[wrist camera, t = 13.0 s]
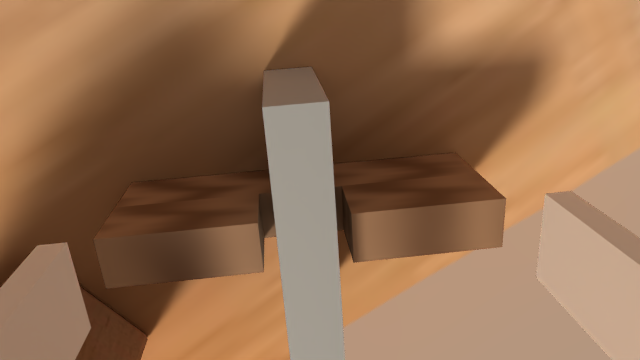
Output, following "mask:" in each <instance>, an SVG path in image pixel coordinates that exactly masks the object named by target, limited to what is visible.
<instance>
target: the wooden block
mask: <svg viewBox="0 0 640 360" xmlns="http://www.w3.org/2000/svg"><path fill="white" fill-rule="evenodd" d="M80 290H81V293H82V297H83V301H84V304H85V308H86V311H87V315H88V318H89V322H90V325H91V329H90V331H89V333H88V335H87V337H86V339H85V341H84V343H83V345H82V347H81V349H80V351H79V353H78V355H77V357H76V359H75V360H141V357H142V354H143V351H144V348H145V345H146V342H147V336H146V335H145V334H144V333H143V332H142V331H140V330H139V329H138V328H136V327H135V326H133V325H132V324H131V323H129V322H128V321H127V320H125V319H124V318H123V317H121V316H120V315H118V314H117V313H116V312H114V311H113V310H112V309H110V308H109V307H107V306H106V305H105V304H103V303H102V302H101V301H99V300H98V299H97V298H95V297H94V296H92V295H91V294H90V293H88V292H87V291H86V290H84V289H83V288H81V287H80Z"/></svg>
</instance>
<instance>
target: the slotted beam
mask: <svg viewBox="0 0 640 360" xmlns="http://www.w3.org/2000/svg"><path fill="white" fill-rule="evenodd" d="M333 172H334V188H335V204H336V220H337V230H344V232H345V235H346V239H347V242H348V245H349V249H350V252H351V255H352V259H353V262H364V261H373V260H383V259H392V258H402V257H411V256H421V255H430V254H440V253H449V252H459V251H468V250H478V249H487V248H496V247H502V242H503V230H504V217H505V205H506V198H505V197H504V196H503V195H502V194H500V193H499V192H498V191H497V190H496V189H495V188H494V187H493V186H492V185H491V184H489V183H488V182H487V181H486V180H485V179H484V178H483V177H482V176H481V175H480V174H479V173H477V172H476V171H475V170H474V169H473V168H472V167H471V166H470V165H469V164H468V163H466V162H465V161H464V160H463V159H462V158H461V157H460V156H459V155H458V154H457V153H446V154H435V155H424V156H413V157H402V158H392V159H381V160H370V161H359V162H348V163H337V164H333ZM268 237H277V236H276V227H275V218H274V209H273V200H272V191H271V182H270V173H269V170H262V171H251V172H240V173H229V174H219V175H208V176H197V177H186V178H175V179H164V180H154V181H143V182H132V183H131V184H130V186H129V187H128V189H127V190H126V192H125V193H124V195H123V196H122V198H121V199H120V201H119V202H118V204H117V205H116V206H115V208H114V209H113V211H112V212H111V214H110V215H109V217H108V218H107V220H106V221H105V223H104V224H103V226H102V227H101V228H100V230H99V231H98V233H97V234H96V236H95V237H94V239H93V242H94V245H95V249H96V253H97V257H98V261H99V265H100V268H101V272H102V276H103V280H104V284H105V288H106V289H108V288H117V287H127V286H136V285H146V284H155V283H165V282H174V281H184V280H193V279H203V278H212V277H222V276H231V275H241V274H250V273H260V272H264V238H268Z"/></svg>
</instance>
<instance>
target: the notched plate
mask: <svg viewBox="0 0 640 360" xmlns="http://www.w3.org/2000/svg"><path fill="white" fill-rule="evenodd" d="M262 111H263V120H264V129H265V138H266V147H267V156H268V165H269V173H270V182H271V191H272V200H273V209H274V218H275V227H276V236H277V245H278V254H279V262H280V271H281V280H282V289H283V298H284V307H285V316H286V325H287V334H288V343H289V352H290V360H345V350H344V333H343V317H342V301H341V285H340V269H339V252H338V236H337V220H336V204H335V188H334V172H333V156H332V139H331V123H330V107H329V100H328V98H327V96H326V94H325V92H324V90H323V88H322V86H321V84H320V82H319V80H318V78H317V76H316V74H315V72H314V71H313V69H312V67H301V68H289V69H277V70H265V71H264V79H263V99H262Z"/></svg>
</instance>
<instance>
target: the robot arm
mask: <svg viewBox="0 0 640 360" xmlns="http://www.w3.org/2000/svg"><path fill="white" fill-rule="evenodd" d="M536 278H537V279H538V280H539V281H540V282H541V283H542V284H543V286H544V287H545V288H546V289H547V290H548V291H549V292H550V293H551V294H552V295H553V296H554V298H555V299H556V300H557V301H558V302H559V303H560V304H561V305H562V306H563V307H564V308H565V310H566V311H567V312H568V313H569V314H570V315H571V316H572V317H573V318H574V319H575V320H576V322H577V323H578V324H579V325H580V326H581V327H582V328H583V329H584V330H585V331H586V332H587V334H588V335H589V336H590V337H591V338H592V339H593V340H594V341H595V342H596V343H597V344H598V345H599V347H600V348H601V349H602V350H603V351H604V352H605V353H606V354H607V355H608V356H609V357H610V359H611V360H640V238H639V237H638V236H636V235H635V234H633V233H632V232H630V231H629V230H627V229H626V228H624V227H623V226H622V225H620V224H619V223H617V222H616V221H614V220H613V219H611V218H610V217H608V216H607V215H605V214H604V213H603V212H601V211H600V210H598V209H597V208H595V207H594V206H592V205H591V204H589V203H588V202H586V201H585V200H584V199H582V198H581V197H579V196H578V195H576V194H575V193H573V192H572V191H567V192H557V193H547V194H545V200H544V209H543V219H542V227H541V236H540V245H539V255H538V264H537V272H536ZM90 329H91V325H90V322H89V318H88V315H87V311H86V308H85V304H84V301H83V297H82V293H81V290H80V286H79V283H78V279H77V276H76V272H75V269H74V265H73V262H72V258H71V254H70V251H69V247H68V244H67V242H65V243H55V244H46V245H37V246H36V247H35V248H34V250H33V251H32V252H31V253H30V254H29V255H28V256H27V258H26V259H25V260H24V261H23V262H22V263H21V265H20V266H19V267H18V268H17V269H16V270H15V271H14V273H13V274H12V275H11V276H10V277H9V278H8V280H7V281H6V282H5V283H4V284H3V285H2V286H1V288H0V360H75V359H76V357H77V355H78V353H79V351H80V349H81V347H82V345H83V343H84V341H85V339H86V337H87V335H88V333H89V331H90Z"/></svg>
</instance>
